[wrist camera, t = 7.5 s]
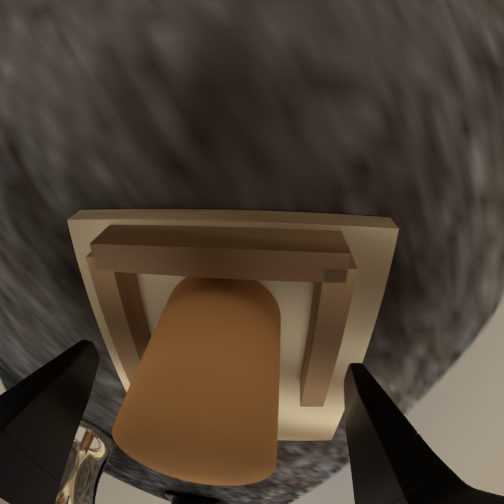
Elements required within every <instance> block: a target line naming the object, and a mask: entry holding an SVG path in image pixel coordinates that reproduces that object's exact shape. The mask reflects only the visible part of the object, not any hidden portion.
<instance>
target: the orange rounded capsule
mask: <svg viewBox="0 0 504 504" xmlns="http://www.w3.org/2000/svg"><path fill="white" fill-rule="evenodd" d="M280 338H281V314H280V309H279V306H278V303H277V301H276V300H275V298H274V296H273V295H272V294H271V292H270V291H269V290H268V289H267V288H266V287H265V286H263V285H262V284H261V283H259V282H258V281H256V280H243V279H223V278H204V277H186V278H184V279H183V280H182V281H180V282H179V283H178V284H177V285H176V287H175V288H174V290H173V291H172V293H171V295H170V297H169V299H168V301H167V304H166V306H165V308H164V310H163V312H162V314H161V316H160V319H159V321H158V323H157V325H156V327H155V329H154V332H153V334H152V336H151V338H150V340H149V343H148V345H147V347H146V349H145V352H144V354H143V356H142V358H141V361H140V363H139V365H138V368H137V370H136V372H135V374H134V377H133V379H132V381H131V384H130V386H129V389H128V391H127V393H126V396H125V398H124V400H123V403H122V405H121V408H120V410H119V413H118V415H117V418H116V420H115V423H114V425H113V428H112V437H113V439H114V441H115V442H116V444H117V445H118V446H119V447H120V448H121V449H122V450H123V451H124V452H125V453H126V454H127V455H129V456H130V457H131V458H133V459H134V460H136V461H137V462H139V463H141V464H143V465H145V466H146V467H148V468H150V469H153V470H155V471H157V472H160V473H162V474H165V475H168V476H171V477H174V478H177V479H181V480H185V481H189V482H194V483H200V484H207V485H218V486H236V485H245V484H251V483H255V482H259V481H261V480H264V479H266V478H268V477H269V476H271V475H272V474H273V473H274V472H275V469H276V460H277V438H278V412H279V381H280Z"/></svg>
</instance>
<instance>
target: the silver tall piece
mask: <svg viewBox="0 0 504 504" xmlns="http://www.w3.org/2000/svg"><path fill="white" fill-rule="evenodd" d="M116 447H117V446H116V443H115V442H114V440H113V439H112V438H111V437H110V436H109V435H107V434H106V433H105V432H103V431H102V430H100V429H99V428H97V427H96V426H94V425H92V424H90V423H89V422H87V421H85V420H82V419H81V422H80V425H79V428H78V430H77V433H76V436H75V439H74V442H73V445H72V448H71V451H70V454H69V458H68V461H67V464H66V467H65V470H64V474H63V477H62V481H61V484H60V488H59V491H58V495H57V499H56V503H55V504H96V503H97V494H98V488H99V483H100V479H101V476H102V474H103V471H104V469H105V467H106V465H107V464H108V462H109V460H110V459H111V457H112V456H113V454H114V452H115V451H116Z"/></svg>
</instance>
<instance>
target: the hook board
mask: <svg viewBox="0 0 504 504" xmlns="http://www.w3.org/2000/svg"><path fill="white" fill-rule="evenodd" d="M67 222H68V226H69V230H70V234H71V239H72V243H73V246H74V250H75V254H76V258H77V261H78V265H79V268H80V272H81V275H82V278H83V282H84V285H85V288H86V291H87V294H88V297H89V300H90V303H91V306H92V309H93V312H94V315H95V318H96V320H97V323H98V326H99V328H100V331H101V334H102V336H103V339H104V342H105V344H106V347H107V349H108V351H109V354H110V356H111V359H112V361H113V363H114V366H115V368H116V370H117V373H118V375H119V377H120V379H121V382H122V384H123V386H124V388H125V390H126V392H127V391H128V389H129V386H130V384H131V381H132V379H133V377H134V374H135V372H136V370H137V368H138V365H139V363H140V361H141V358H142V356H143V354H144V352H145V349H146V347H147V345H148V343H149V340H150V338H151V336H152V334H153V332H154V329H155V327H156V325H157V323H158V321H159V319H160V316H161V314H162V312H163V310H164V308H165V306H166V304H167V301H168V299H169V297H170V295H171V293H172V291H173V290H174V288H175V287H176V285H177V284H178V283H179V282H180V281H182V280H183V279H184V278H186V277H204V278H223V279H243V280H256V281H258V282H259V283H261V284H262V285H263V286H265V287H266V288H267V289H268V290H269V291H270V292H271V294H272V295H273V296H274V298H275V300H276V301H277V303H278V306H279V309H280V314H281V338H280V381H279V412H278V438H277V440H332V438H333V435H334V433H335V431H336V429H337V426H338V424H339V422H340V419H341V417H342V415H343V412H344V410H345V408H344V378H345V375H346V372H347V368H348V365H349V364H350V363H362V362H363V359H364V356H365V354H366V351H367V348H368V345H369V341H370V338H371V335H372V332H373V329H374V326H375V322H376V319H377V316H378V312H379V309H380V305H381V302H382V298H383V295H384V291H385V287H386V283H387V279H388V275H389V271H390V267H391V263H392V259H393V254H394V250H395V245H396V241H397V236H398V231H399V228H398V227H397V226H396V224H395V223H394V222H393V220H392V219H391V218H390V217H378V216H363V215H346V214H329V213H309V212H285V211H257V210H216V209H102V210H79V211H78V212H77V213H75V214H74V215H73V216H71V217H70V218H69V219H67Z"/></svg>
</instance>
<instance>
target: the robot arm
mask: <svg viewBox="0 0 504 504" xmlns="http://www.w3.org/2000/svg"><path fill="white" fill-rule="evenodd" d="M99 361H100V358H99V354H98V352H97V350H96V348H95V345H94V343H93V342H92V341H89V340H81V341H79V342H78V343H76V344H75V345H73V346H72V347H70V348H69V349H67V350H66V351H65V352H63V353H62V354H60V355H59V356H57V357H56V358H54V359H53V360H51V361H50V362H48V363H47V364H45V365H44V366H42V367H41V368H39V369H38V370H36V371H35V372H34V373H32V374H31V375H29V376H28V377H26V378H25V379H23V380H22V381H20V382H19V383H17V384H16V386H13V387H12V388H10V389H9V390H7V391H6V392H4V393H3V394H1V395H0V504H55V503H56V499H57V495H58V491H59V488H60V484H61V481H62V477H63V474H64V470H65V467H66V464H67V461H68V458H69V454H70V451H71V448H72V445H73V442H74V439H75V436H76V433H77V430H78V428H79V425H80V422H81V419H82V416H83V414H84V411H85V408H86V406H87V403H88V400H89V397H90V394H91V391H92V387H93V383H94V380H95V376H96V372H97V369H98V365H99ZM344 408H345V428H346V435H347V442H348V449H349V457H350V465H351V473H352V480H353V490H354V499H355V504H504V496H501V495H496V494H492V493H489V492H485V491H481V490H477V489H475V488H473V487H471V486H469V485H467V484H466V483H465V482H464V481H462V480H461V479H460V478H459V477H458V476H457V475H456V474H455V473H454V472H453V471H452V470H451V469H450V468H449V467H448V466H447V465H446V464H445V463H444V462H443V461H442V460H441V459H440V458H439V457H438V456H437V455H436V454H435V453H434V452H433V451H432V449H431V448H430V447H429V446H428V445H427V444H426V442H425V441H424V440H423V439H422V437H421V436H420V435H419V434H417V431H416V430H415V429H414V427H413V426H412V425H411V424H410V422H409V421H408V420H407V419H406V417H405V416H404V415H403V414H402V412H401V411H400V410H399V408H398V407H397V406H396V405H395V403H394V402H393V401H392V400H391V398H390V397H389V396H388V395H387V394H386V392H385V391H384V390H383V389H382V387H381V386H380V385H379V384H378V382H377V381H376V380H375V379H374V377H373V376H372V375H371V374H370V372H369V371H368V370H367V369H366V367H365V366H364V365H363V364H362V363H350V364H349V365H348V368H347V372H346V375H345V378H344ZM164 495H165V496H166V497H167V498H168V499H169V500H170V501H171V504H220V502H219V501H218V500H215V499H207V498H201V497H194V496H188V495H183V494H178V493H172V492H167V491H165V494H164Z"/></svg>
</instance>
